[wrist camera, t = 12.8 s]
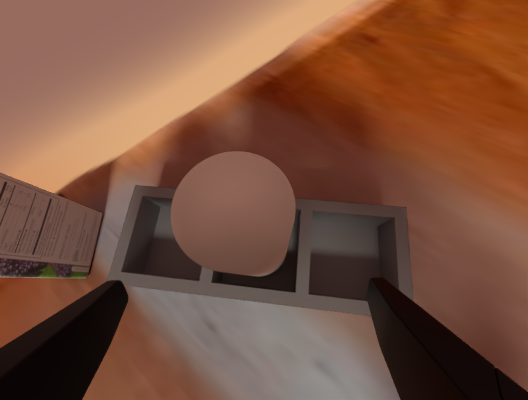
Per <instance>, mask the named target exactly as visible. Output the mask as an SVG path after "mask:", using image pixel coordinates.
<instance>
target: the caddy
mask: <svg viewBox="0 0 528 400" xmlns="http://www.w3.org/2000/svg"><path fill="white" fill-rule="evenodd" d="M176 190H177V188H164V187H152V186H140V185H135V188H134V191H133V195H132V198H131V201H130V205H129V208H128V212H127V215H126V218H125V222H124V225H123V229H122V232H121V235H120V239H119V242H118V246H117V249H116V252H115V256H114V259H113V262H112V266H111V269H110V273H109V276H108V279H107V281H109V280H121V281H122V282H123V285H126V286H134V287H142V288H150V289H158V290H166V291H174V292H182V293H190V294H198V295H206V296H214V297H222V298H230V299H238V300H246V301H254V302H262V303H270V304H278V305H286V306H294V307H302V308H310V309H318V310H326V311H334V312H343V313H351V314H359V315H367V316H371V313H370V309H369V305H368V302H367V290H368V284H369V280H370V278H371V277H383V278H385V279H386V280H387V281H388V282H390V283H391V284H392V285H393V286H395V287H396V288H397V289H398V290H400V291H401V292H402V293H403V294H405V295H406V296H407V297H408V298H410V299H411V300H412V301H413V289H412V276H411V263H410V250H409V237H408V224H407V211H406V207H397V206H385V205H373V204H361V203H348V202H336V201H324V200H312V199H299V198H295V204H296V213H295V220H294V224H293V228H292V233H291V237H290V241H289V245H288V249H287V253H286V257H285V260H284V263H283V264H282V266H281V267H280V269H279V270H277V271H276V272H275V273H273V274H271V275H269V276H265V277H257V276H249V275H241V274H233V273H225V272H219V271H213V270H210V269H207V268H205V267H203V266H201V265H199V264H197V263H196V262H194V261H193V260H192V259H190V258H189V257H188V256H187V255H186V254H185V253H184V251H183V250H182V249H181V248H180V246H179V244H178V243H177V241H176V239H175V236H174V234H173V230H172V226H171V205H172V200H173V197H174V194H175V192H176Z"/></svg>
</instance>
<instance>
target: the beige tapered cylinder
mask: <svg viewBox="0 0 528 400" xmlns="http://www.w3.org/2000/svg"><path fill="white" fill-rule="evenodd" d="M295 213H296V204H295V196H294V193H293V189H292V187H291V185H290V182H289V181H288V179H287V177H286V176H285V174H284V173H283V172H282V171H281V169H279V168H278V167H277V166H276V165H275V164H274V163H272V162H271V161H270V160H268V159H266V158H264V157H262V156H260V155H257V154H254V153H250V152H243V151H231V152H224V153H219V154H216V155H213V156H211V157H209V158H207V159H205V160H203V161H201V162H200V163H198V164H197V165H196V166H194V167H193V168H192V169H191V170H190V171H189V172H188V173H187V174H186V175H185V177H184V178H183V179H182V181H181V182H180V184H179V186H178V187H177V190H176V192H175V194H174V197H173V200H172V205H171V226H172V230H173V234H174V236H175V239H176V241H177V243H178V244H179V246H180V248H181V249H182V250H183V251H184V253H185V254H186V255H187V256H188V257H189V258H190V259H192V260H193V261H194V262H196V263H197V264H199V265H201V266H203V267H205V268H207V269H210V270H213V271H219V272H225V273H233V274H241V275H249V276H257V277H265V276H269V275H271V274H273V273H275V272H276V271H277V270H279V269H280V267H281V266H282V264H283V263H284V260H285V257H286V253H287V249H288V245H289V241H290V237H291V233H292V228H293V224H294V220H295Z"/></svg>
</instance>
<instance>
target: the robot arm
mask: <svg viewBox="0 0 528 400" xmlns="http://www.w3.org/2000/svg"><path fill="white" fill-rule="evenodd" d="M367 302H368V305H369V309H370V313H371V316H372V320H373V324H374V327H375V331H376V334H377V338H378V341H379V345H380V348H381V351H382V353H383V356H384V358H385V361H386V364H387V366H388V369H389V371H390V374H391V376H392V379H393V382H394V384H395V387H396V389H397V392H398V394H399V397H400V399H401V400H528V392H527V391H526V390H524V389H523V388H522V387H521V386H519V385H518V384H517V383H515V382H514V381H513V380H512V379H510V378H509V377H508V376H507V375H505V374H504V373H503V372H502V371H500V370H499V369H498V368H495V367H494V365H493V364H491V363H490V362H489V361H488V360H486V359H485V358H484V357H483V356H481V355H480V354H479V353H478V352H476V351H475V350H474V349H473V348H471V347H470V346H469V345H468V344H466V343H465V342H464V341H462V340H461V339H460V338H459V337H457V336H456V335H455V334H454V333H452V332H451V331H450V330H449V329H447V328H446V327H445V326H444V325H442V324H441V323H440V322H439V321H437V320H436V319H435V318H434V317H432V316H431V315H430V314H429V313H427V312H426V311H425V310H424V309H422V308H421V307H420V306H419V305H417V304H416V303H415V302H414V301H412V300H411V299H410V298H408V297H407V296H406V295H405V294H403V293H402V292H401V291H400V290H398V289H397V288H396V287H395V286H393V285H392V284H391V283H390V282H388V281H387V280H386V279H385V278H383V277H371V278H370V280H369V284H368V290H367ZM127 303H128V294H127V292H126V289H125V287H124V285H123V282H122V281H121V280H109V281H107V282H105V283H104V284H102V285H100V286H99V287H97V288H96V289H94V290H92V291H91V292H89V293H88V294H86V295H84V296H83V297H81V298H80V299H78V300H76V301H75V302H73V303H72V304H70V305H68V306H67V307H65V308H64V309H62V310H61V311H59V312H57V313H56V314H54V315H53V316H51V317H49V318H48V319H46V320H45V321H43V322H41V323H40V324H38V325H37V326H35V327H33V328H32V329H30V330H29V331H27V332H25V333H24V334H22V335H21V336H19V337H17V338H16V339H14V340H13V341H11V342H9V343H8V344H6V345H5V346H3V347H1V348H0V400H82V399H83V397H84V395H85V393H86V391H87V389H88V387H89V385H90V383H91V381H92V379H93V377H94V375H95V374H96V372H97V370H98V368H99V366H100V364H101V362H102V360H103V358H104V356H105V354H106V352H107V350H108V348H109V346H110V344H111V342H112V339H113V337H114V335H115V332H116V330H117V327H118V325H119V322H120V320H121V317H122V315H123V313H124V310H125V308H126V305H127Z"/></svg>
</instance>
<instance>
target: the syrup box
mask: <svg viewBox="0 0 528 400" xmlns="http://www.w3.org/2000/svg"><path fill="white" fill-rule="evenodd" d="M101 218H102V212H99V211H96V210H94V209H92V208H89V207H86V206H84V205H81V204H79V203H76V202H74V201H71V200H69V199H66V198H64V197H61V196H59V195H56V194H54V193H51V192H48V191H46V190H43V189H40V188H38V187H36V186H33V185H31V184H28V183H25V182H23V181H20V180H17V179H15V178H12V177H10V176H7V175H5V174H2V173H0V277H24V278H82V279H85V278H86V277H87V276H88V273H89V269H90V265H91V261H92V257H93V253H94V249H95V245H96V240H97V236H98V232H99V227H100V223H101Z"/></svg>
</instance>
